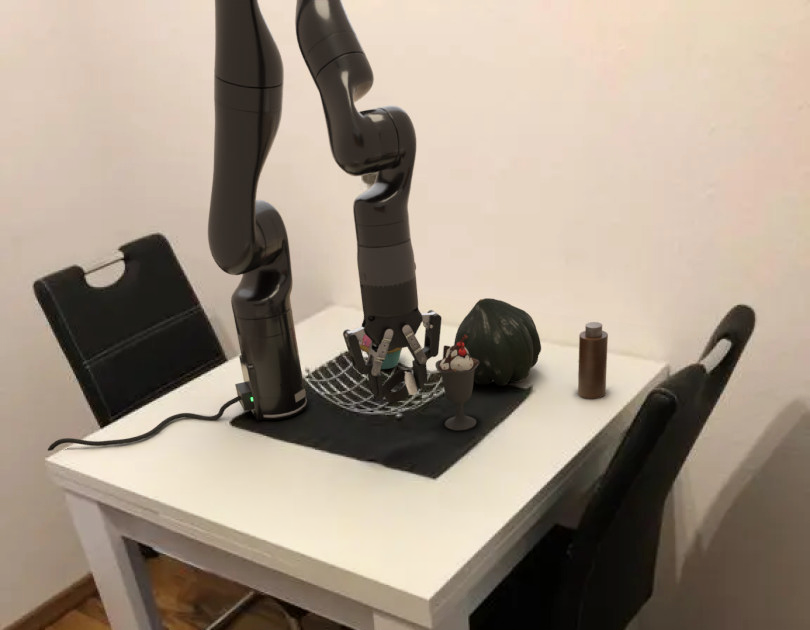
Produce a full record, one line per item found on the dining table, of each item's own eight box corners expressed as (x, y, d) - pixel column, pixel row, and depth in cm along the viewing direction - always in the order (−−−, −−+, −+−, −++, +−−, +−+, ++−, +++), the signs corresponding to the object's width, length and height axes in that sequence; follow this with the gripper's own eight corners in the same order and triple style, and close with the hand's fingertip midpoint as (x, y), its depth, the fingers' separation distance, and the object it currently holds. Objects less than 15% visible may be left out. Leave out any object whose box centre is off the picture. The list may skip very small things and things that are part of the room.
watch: (410, 406, 126) (408, 382, 124) (378, 406, 127) (375, 382, 125) (421, 383, 132) (419, 360, 130) (390, 383, 133) (387, 360, 131)
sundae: (479, 433, 139) (475, 340, 131) (436, 432, 141) (429, 340, 133) (484, 414, 145) (481, 324, 136) (443, 414, 146) (437, 324, 138)
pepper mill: (586, 401, 146) (589, 332, 139) (572, 391, 149) (574, 323, 143) (610, 394, 147) (613, 326, 140) (596, 385, 150) (598, 317, 144)
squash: (557, 329, 158) (498, 267, 153) (554, 367, 146) (490, 301, 141) (498, 379, 165) (440, 322, 161) (490, 419, 153) (427, 358, 149)
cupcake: (416, 359, 166) (411, 295, 159) (391, 376, 160) (385, 311, 154) (378, 352, 170) (371, 289, 164) (352, 369, 164) (344, 305, 158)
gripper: (426, 257, 125) (435, 371, 134) (327, 278, 121) (343, 394, 130) (448, 270, 119) (456, 389, 128) (345, 293, 115) (360, 414, 124)
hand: (399, 391), depth 129 cm, fingers closed on watch, 5 cm apart
